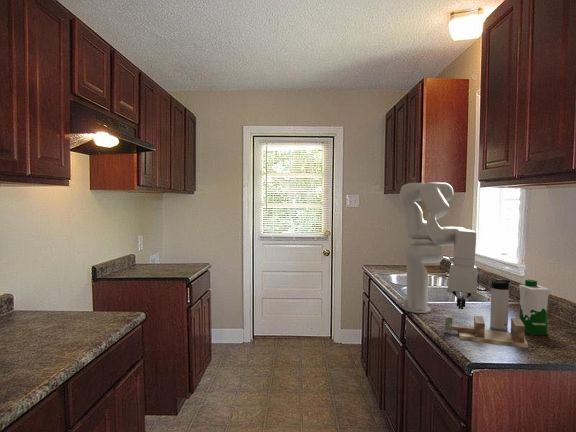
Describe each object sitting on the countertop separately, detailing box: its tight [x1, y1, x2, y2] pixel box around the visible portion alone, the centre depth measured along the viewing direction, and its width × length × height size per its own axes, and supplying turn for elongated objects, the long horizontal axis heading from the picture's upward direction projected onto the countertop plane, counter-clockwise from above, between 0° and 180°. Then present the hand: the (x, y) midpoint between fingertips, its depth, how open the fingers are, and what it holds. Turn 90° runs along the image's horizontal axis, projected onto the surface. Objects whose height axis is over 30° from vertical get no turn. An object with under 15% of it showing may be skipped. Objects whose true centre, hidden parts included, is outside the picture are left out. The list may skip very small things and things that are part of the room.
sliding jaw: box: [444, 313, 486, 337], centre depth 151 cm, size 13×10×5 cm
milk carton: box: [518, 279, 551, 336], centre depth 155 cm, size 9×9×20 cm
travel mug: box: [489, 279, 511, 332], centre depth 157 cm, size 6×7×20 cm
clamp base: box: [458, 317, 529, 349], centre depth 147 cm, size 22×12×7 cm, turn 67°
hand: (460, 308), depth 152 cm, fingers closed
